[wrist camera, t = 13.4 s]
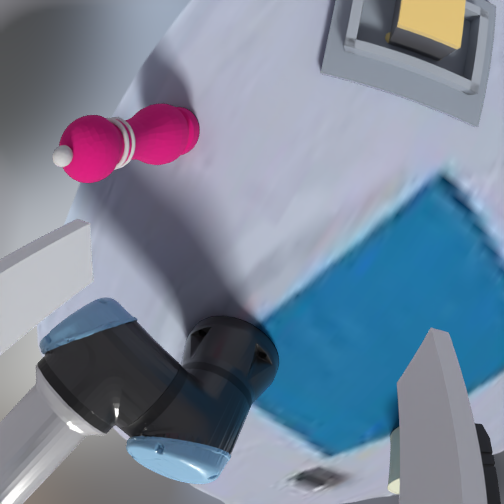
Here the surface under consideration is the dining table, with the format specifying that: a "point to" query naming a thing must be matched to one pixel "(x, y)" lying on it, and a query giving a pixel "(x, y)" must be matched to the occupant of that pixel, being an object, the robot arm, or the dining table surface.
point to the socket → (412, 58)
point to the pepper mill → (125, 141)
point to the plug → (428, 26)
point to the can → (394, 462)
